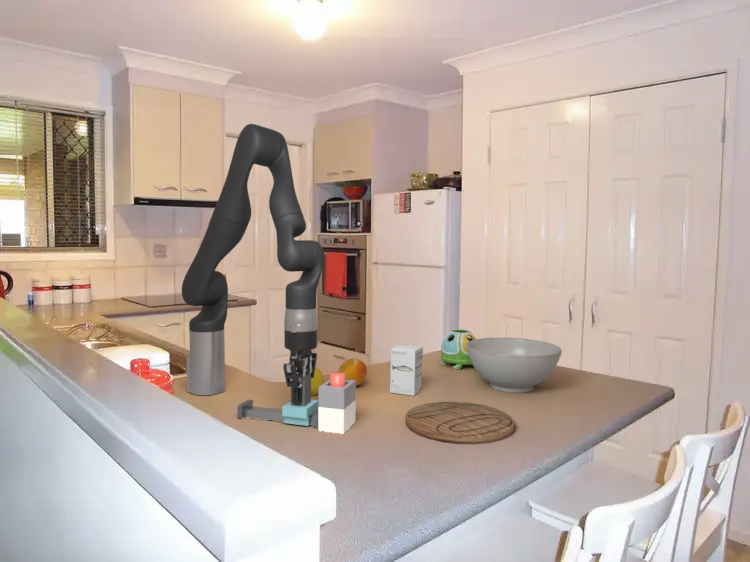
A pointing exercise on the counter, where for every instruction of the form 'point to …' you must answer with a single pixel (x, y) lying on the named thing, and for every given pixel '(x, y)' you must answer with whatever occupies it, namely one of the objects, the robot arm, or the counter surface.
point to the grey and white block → (337, 407)
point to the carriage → (301, 406)
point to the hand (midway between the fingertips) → (300, 400)
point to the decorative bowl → (513, 362)
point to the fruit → (354, 370)
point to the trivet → (459, 422)
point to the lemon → (316, 381)
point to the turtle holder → (456, 347)
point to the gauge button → (337, 379)
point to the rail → (268, 413)
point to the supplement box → (406, 369)
